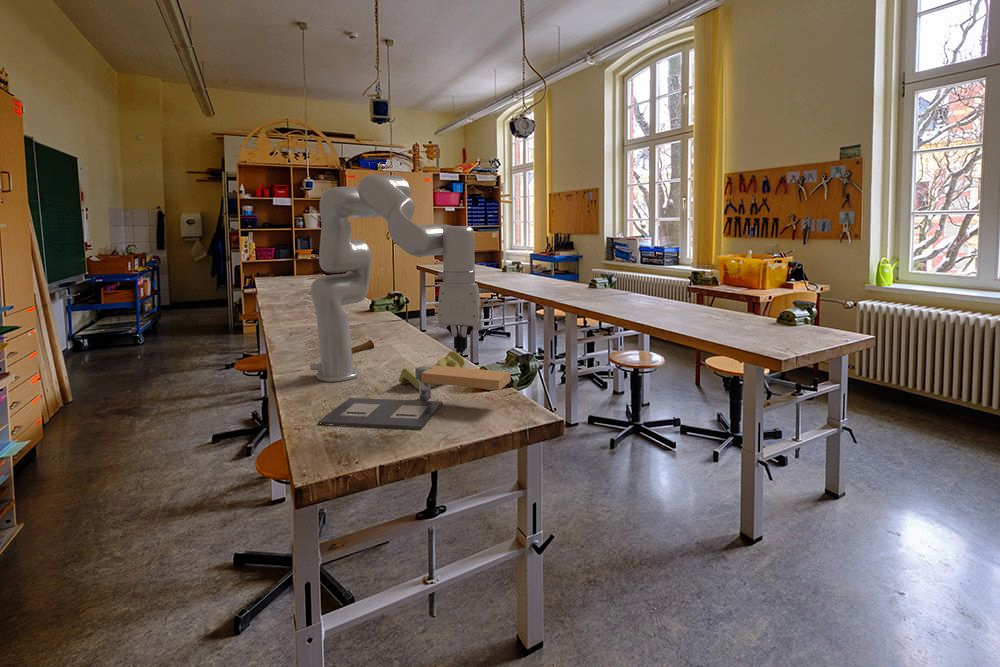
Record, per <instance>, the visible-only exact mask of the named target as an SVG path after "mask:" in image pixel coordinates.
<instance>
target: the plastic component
mask: <svg viewBox="0 0 1000 667" xmlns="http://www.w3.org/2000/svg"><path fill="white" fill-rule="evenodd" d="M466 364H467V362H466V360H465V358H464V357H463V356H461V354H460V353H456V350H452V351H450V352H449V353H448V354H447V355H446V356H444V357H442V358H440V359H438V361H437V363H435V364H433V365H429V367H431V368H432V367H434V366H435V365H437V366H448V367H459V368H466ZM398 382H399V383H400V384H402V385H405V383H406V384H408V382H409V383H410V384H412V385H413V386H414V388H416V389H417V390H419V380H418V379H416V371H414V372H412V371H410V369H409V368H407V367H404V368H403V369H402V370H401V373H400V376H399V377H398ZM437 385H438V386H439V385H440V386H441V384H435V383H430V389H432V387H433V388H435V387H438V386H437Z"/></svg>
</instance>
